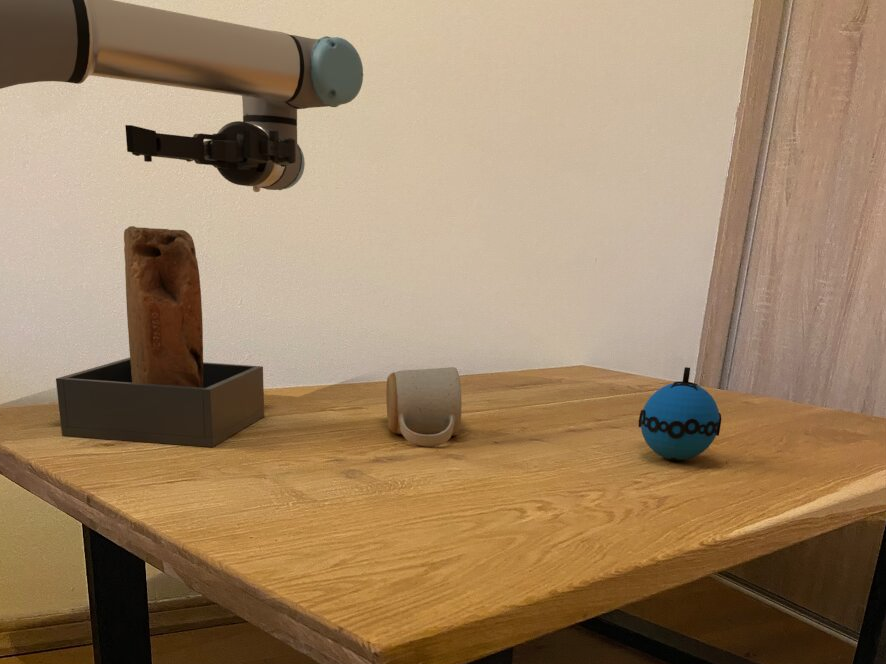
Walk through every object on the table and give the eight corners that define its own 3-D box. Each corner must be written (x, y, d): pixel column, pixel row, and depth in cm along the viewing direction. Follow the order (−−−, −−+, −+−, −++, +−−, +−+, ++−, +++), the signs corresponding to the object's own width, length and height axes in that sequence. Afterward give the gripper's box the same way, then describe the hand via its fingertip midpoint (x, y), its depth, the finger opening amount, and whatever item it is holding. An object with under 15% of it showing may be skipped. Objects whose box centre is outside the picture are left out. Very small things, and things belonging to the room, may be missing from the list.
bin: (61, 435, 98) (55, 378, 96) (134, 406, 115) (130, 357, 112) (212, 447, 97) (210, 389, 95) (264, 416, 113) (263, 366, 111)
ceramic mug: (383, 426, 111) (385, 361, 108) (451, 427, 112) (454, 362, 109) (393, 448, 101) (395, 377, 98) (466, 449, 102) (471, 378, 99)
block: (132, 408, 109) (118, 224, 101) (197, 407, 111) (188, 228, 104) (140, 427, 99) (125, 226, 92) (211, 425, 102) (203, 230, 95)
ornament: (712, 473, 97) (728, 376, 94) (630, 463, 99) (642, 368, 96) (715, 456, 105) (730, 366, 101) (639, 447, 107) (650, 359, 103)
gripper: (340, 190, 123) (297, 183, 104) (160, 181, 126) (84, 172, 106) (341, 128, 120) (296, 108, 101) (156, 119, 123) (78, 98, 103)
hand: (187, 141), depth 103 cm, fingers open, 13 cm apart
